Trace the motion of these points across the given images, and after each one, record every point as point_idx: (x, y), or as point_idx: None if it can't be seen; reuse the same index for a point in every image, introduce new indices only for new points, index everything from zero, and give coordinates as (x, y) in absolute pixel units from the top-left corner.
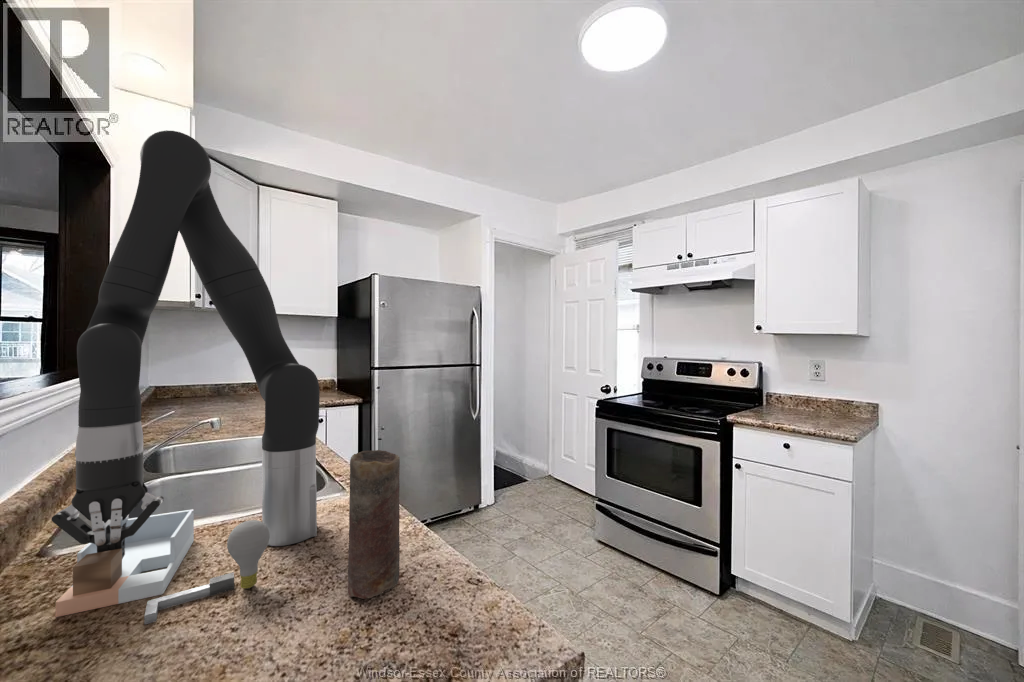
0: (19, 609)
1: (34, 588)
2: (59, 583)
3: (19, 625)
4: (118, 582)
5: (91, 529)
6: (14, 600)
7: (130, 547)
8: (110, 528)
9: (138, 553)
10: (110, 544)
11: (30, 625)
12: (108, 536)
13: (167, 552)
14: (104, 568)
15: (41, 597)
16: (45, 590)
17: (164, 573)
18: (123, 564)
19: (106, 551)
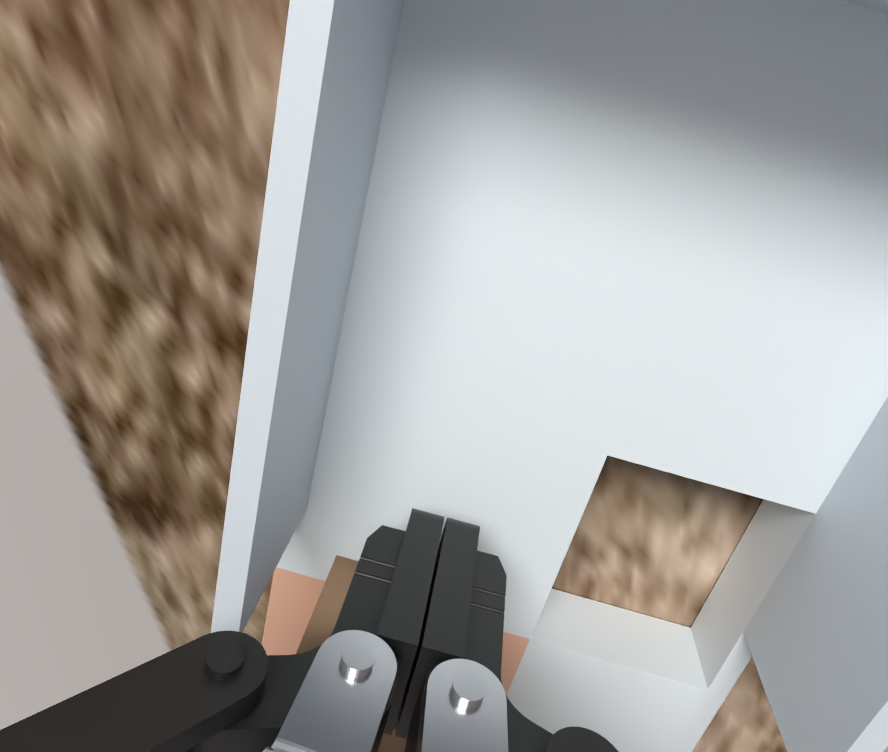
0: (108, 436)
1: (68, 194)
2: (183, 222)
3: (172, 590)
4: None
5: (207, 736)
6: (35, 303)
7: (550, 103)
8: (371, 749)
9: (597, 313)
10: (407, 734)
11: (212, 618)
12: (376, 743)
13: (771, 457)
14: None
15: (155, 365)
16: (141, 278)
17: (686, 734)
18: (502, 456)
19: (394, 733)
